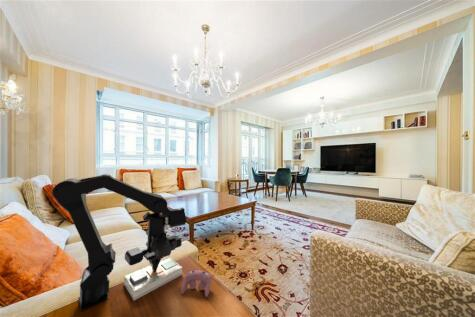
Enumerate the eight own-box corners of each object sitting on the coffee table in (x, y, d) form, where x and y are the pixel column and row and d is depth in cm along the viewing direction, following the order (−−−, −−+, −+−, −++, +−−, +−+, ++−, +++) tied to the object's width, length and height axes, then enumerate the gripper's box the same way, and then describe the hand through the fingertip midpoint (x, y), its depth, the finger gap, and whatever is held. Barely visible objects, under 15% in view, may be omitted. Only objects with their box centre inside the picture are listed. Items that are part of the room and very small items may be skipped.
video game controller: (210, 294, 60) (213, 271, 64) (207, 298, 56) (211, 272, 59) (183, 291, 61) (187, 268, 64) (178, 294, 57) (183, 269, 60)
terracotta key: (151, 282, 61) (151, 276, 61) (146, 276, 64) (146, 270, 64) (162, 276, 64) (162, 270, 64) (157, 271, 67) (157, 265, 67)
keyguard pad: (133, 300, 54) (134, 290, 54) (123, 284, 61) (124, 275, 61) (181, 274, 67) (182, 266, 67) (169, 263, 74) (169, 256, 74)
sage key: (165, 274, 65) (166, 269, 65) (160, 269, 68) (161, 264, 68) (176, 269, 69) (176, 264, 69) (170, 264, 71) (171, 259, 71)
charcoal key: (134, 287, 57) (134, 281, 57) (129, 281, 60) (130, 275, 60) (147, 281, 60) (147, 275, 60) (142, 275, 63) (142, 269, 63)
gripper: (137, 246, 52) (134, 297, 52) (190, 229, 66) (188, 269, 66) (125, 234, 59) (123, 279, 59) (175, 221, 73) (173, 257, 73)
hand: (154, 270), depth 64 cm, fingers closed, pressing on terracotta key
